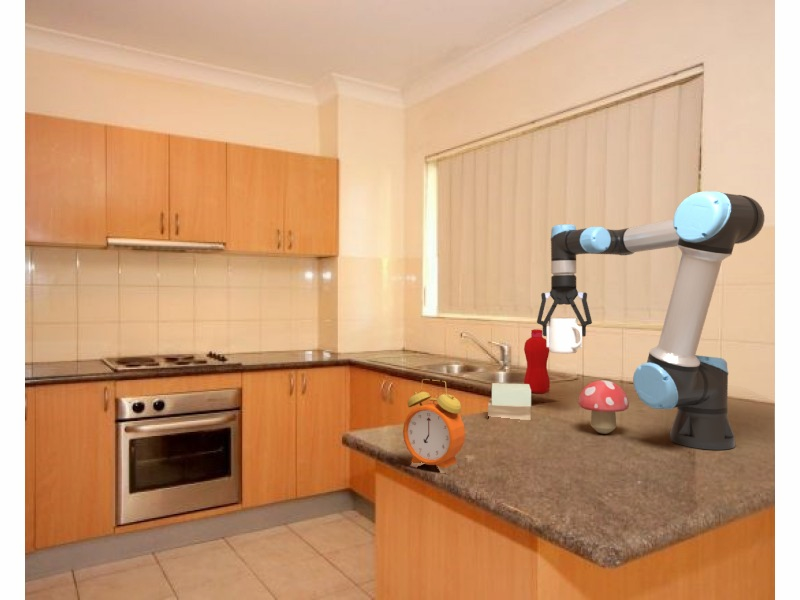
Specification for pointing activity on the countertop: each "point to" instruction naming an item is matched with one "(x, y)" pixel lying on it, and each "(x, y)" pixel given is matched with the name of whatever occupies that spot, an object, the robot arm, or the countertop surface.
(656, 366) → the robot arm
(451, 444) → the alarm clock
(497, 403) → the tower top
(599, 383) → the decorative mushroom
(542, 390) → the water bottle
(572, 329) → the mug
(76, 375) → the countertop surface
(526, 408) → the tower base
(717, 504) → the countertop surface
